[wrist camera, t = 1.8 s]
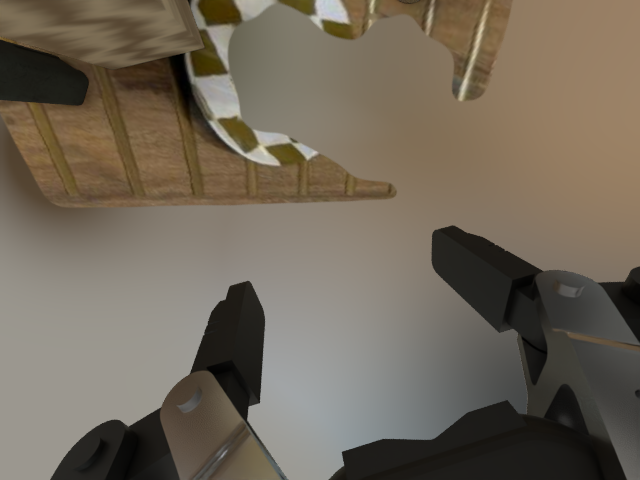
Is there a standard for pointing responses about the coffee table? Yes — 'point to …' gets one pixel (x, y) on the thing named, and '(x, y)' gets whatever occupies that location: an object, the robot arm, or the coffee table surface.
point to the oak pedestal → (103, 29)
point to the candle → (38, 77)
